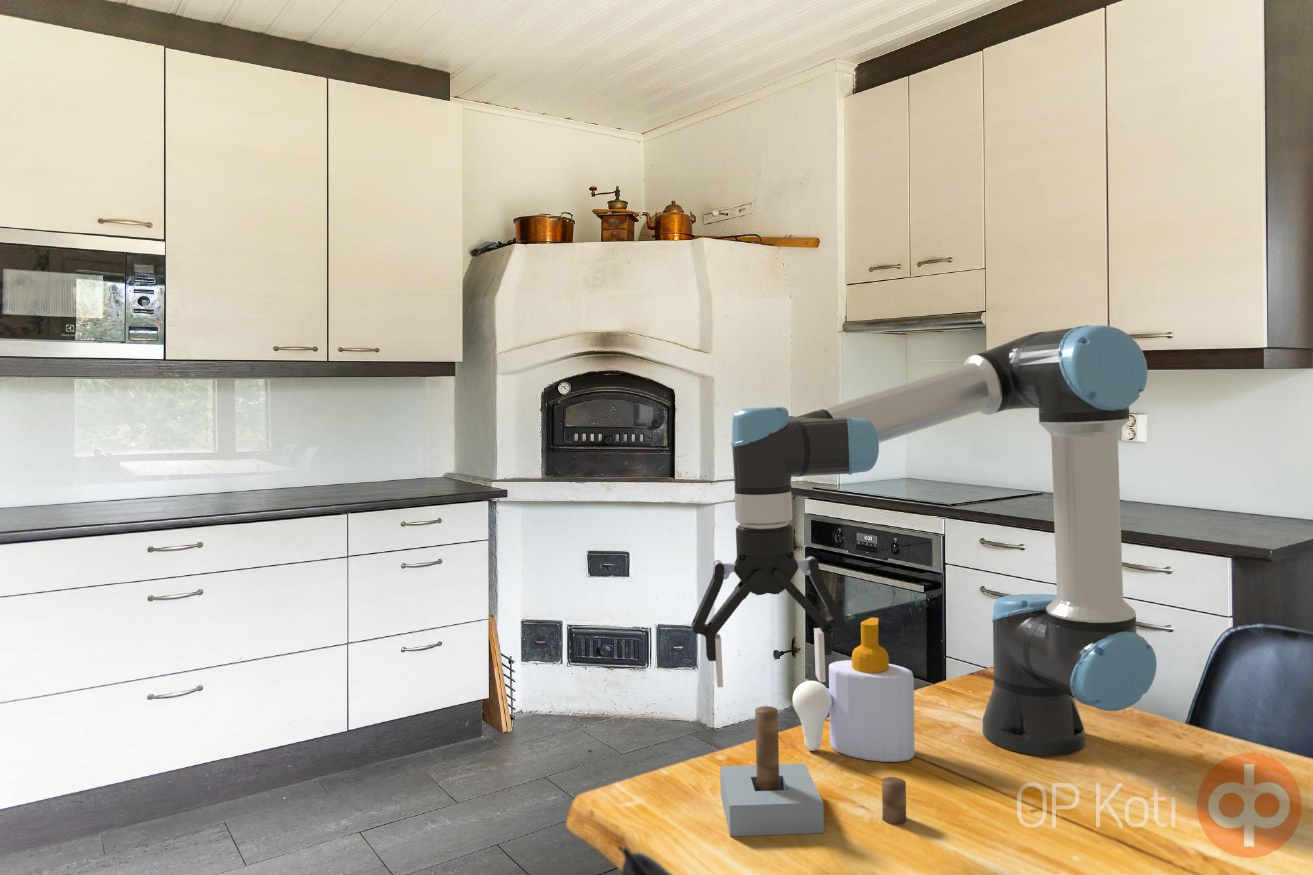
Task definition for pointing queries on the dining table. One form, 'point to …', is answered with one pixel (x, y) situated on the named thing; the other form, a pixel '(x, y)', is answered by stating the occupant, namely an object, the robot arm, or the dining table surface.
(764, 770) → the long pin
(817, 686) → the lightbulb
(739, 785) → the collar block
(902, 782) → the short pin
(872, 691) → the soap bottle
